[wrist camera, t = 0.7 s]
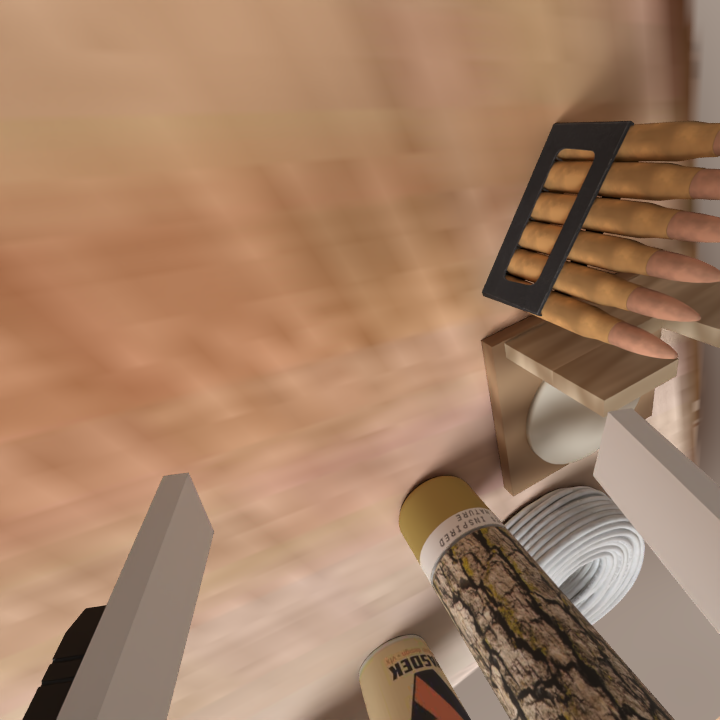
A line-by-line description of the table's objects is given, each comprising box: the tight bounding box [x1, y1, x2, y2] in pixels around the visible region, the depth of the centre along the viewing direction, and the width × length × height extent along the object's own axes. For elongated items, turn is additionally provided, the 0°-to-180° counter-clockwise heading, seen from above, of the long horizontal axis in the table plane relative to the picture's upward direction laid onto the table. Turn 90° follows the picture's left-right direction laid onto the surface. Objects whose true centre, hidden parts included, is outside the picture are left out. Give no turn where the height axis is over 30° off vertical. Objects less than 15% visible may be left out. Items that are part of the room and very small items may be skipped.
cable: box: [504, 486, 645, 625], centre depth 42 cm, size 18×18×6 cm
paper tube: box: [399, 476, 674, 720], centre depth 24 cm, size 7×7×25 cm
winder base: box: [481, 272, 720, 496], centre depth 31 cm, size 16×16×9 cm
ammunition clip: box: [482, 121, 720, 359], centre depth 21 cm, size 11×2×12 cm, turn 160°
